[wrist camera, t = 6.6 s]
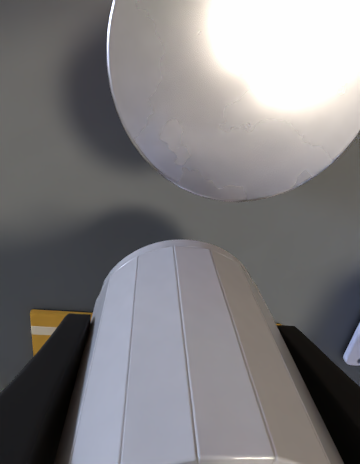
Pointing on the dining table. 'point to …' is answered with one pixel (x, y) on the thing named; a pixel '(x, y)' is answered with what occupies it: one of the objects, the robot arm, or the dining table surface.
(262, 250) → the dining table surface
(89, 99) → the dining table surface
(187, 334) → the white mug
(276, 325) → the robot arm
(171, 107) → the tin can
